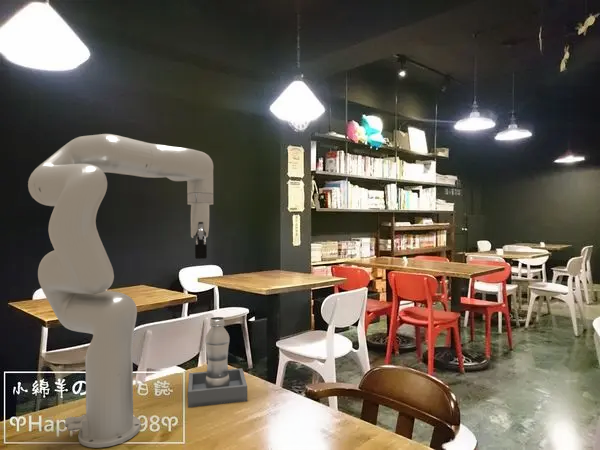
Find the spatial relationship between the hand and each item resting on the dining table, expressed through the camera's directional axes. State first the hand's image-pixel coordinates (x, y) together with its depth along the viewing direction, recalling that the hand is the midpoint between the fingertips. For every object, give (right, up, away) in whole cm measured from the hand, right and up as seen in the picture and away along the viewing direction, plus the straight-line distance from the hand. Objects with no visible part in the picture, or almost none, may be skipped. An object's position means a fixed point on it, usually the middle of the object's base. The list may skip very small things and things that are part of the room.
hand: (201, 256), depth 123 cm
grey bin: (+7, -37, -11) cm, 39 cm away
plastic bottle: (+7, -36, -12) cm, 39 cm away
